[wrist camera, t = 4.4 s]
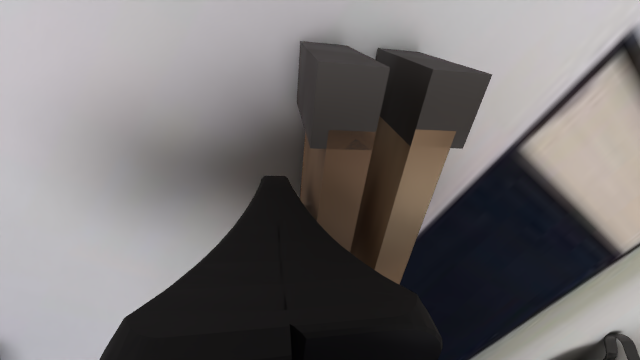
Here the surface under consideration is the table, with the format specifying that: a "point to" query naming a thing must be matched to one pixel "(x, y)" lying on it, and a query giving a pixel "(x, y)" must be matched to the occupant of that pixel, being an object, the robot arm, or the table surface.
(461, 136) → the tongs base
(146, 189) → the table surface
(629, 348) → the coffee press
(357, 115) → the tongs arm
